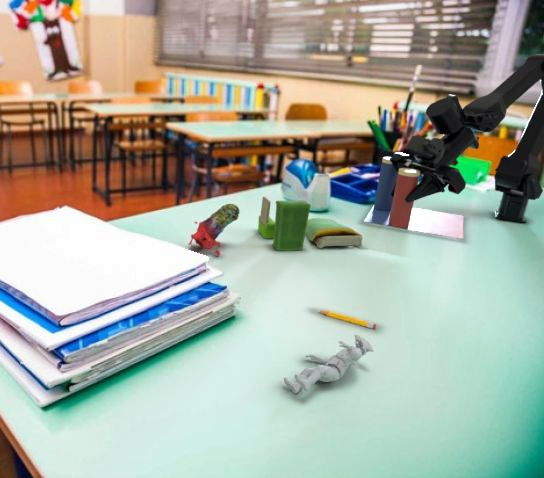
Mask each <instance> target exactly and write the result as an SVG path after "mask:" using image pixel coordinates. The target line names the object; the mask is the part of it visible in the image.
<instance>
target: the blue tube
mask: <svg viewBox="0 0 544 478" xmlns="http://www.w3.org/2000/svg"><path fill="white" fill-rule="evenodd" d="M390 157H391V156H383V157H382V160H381V166H380V171H379V176H378V182H377V186H376V187H377V188H376V191H375V192H376V193H375V197H374V204H373V206H374V209H376V210H380V211H391V207H392V202H393V197H392V196H391V192H392V190H393V187H394V185H395V183H396V181H397V177H398V172H397V170H396V169H395V167H394V166H393V164H392V163H391V161H390V160H389V159H390Z"/></svg>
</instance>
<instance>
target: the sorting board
mask: <svg viewBox="0 0 544 478" xmlns="http://www.w3.org/2000/svg"><path fill="white" fill-rule="evenodd" d="M390 212H391V211H380V210H376V209H374V205H372V207H371V209H370V210H369V212H368V214H367V215H366V217H365V218H364V220H362V221H363V222H364V223H369V224H374V225H380V226H385V227H392V228H394V227H393V226H390V225H389V224H388V223H389V217H390ZM464 218H465V217H464V215H461V214H456V213H449V212H444V211H443V212H442V211H438V210H437V211H436V210H430V209H423V208H417V207H413V208H412V213H411V218H410V222H409V227H408V228H401V229H404V230H409V231H413V232H419V233H425V234H430V235H431V234H432V235H438V236H442V237H447V238H453V239H459V240H464V237H465V235H464V233H465V232H464V227H465V226H464V223H465V222H464ZM395 228H397V227H395ZM397 229H398V228H397Z"/></svg>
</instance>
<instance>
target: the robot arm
mask: <svg viewBox="0 0 544 478" xmlns="http://www.w3.org/2000/svg"><path fill="white" fill-rule="evenodd" d="M539 81H540V88H541V93H540V96H539V98H538V100H537V102H536V105H535V107H534V109H533V111H532V113H531V116H530V117H529V120H528V122H527V123H526V126H525V129H524V131H523V133H522V135H521V137H520V139H519V142H518V143H517V146H516V148H515V149H514V151H513V152H512V153H510V154H509V155H502V156H501V158H500V160H499V163H498V165H497V167H496V168H495V170H494V172H495V174H494V191H496V192H499V193H502V195H501V199H500V203H499V207H498V209H497V210H494V217H495V219H497V220H503V221H510V222H515V223H522V224H526V223H527V219H526V216H525V213H526V211H527V208H528V205H529V201H530V200H531V201H536V200H539V199H540V197H541V196H542V195H543V192H544V189H543V187H542V185H541V183H540V181H539V179H538V177H539V176H540V175H539V174H540V172H541V166H540V160H539V156H540V154H541V152H542V150H543V148H544V53H535V54H532V55H530V56H528V57H527V58H526V60H525V62H524V63H523V64H522V65H521V66H520V67H519V68H517V69H516V70H515V71H514V72H513V73H512V74H511V75H510V76H508V77H507V78H505V80H503V82H502V83H501V84H500V85H498V86H497V87H496V88H495V89H493V91H491V92H489V93H488V94H486V95H484V96H480V97H478V98H476V99H474V100H472V101H471V102H469V103H468V104H466V105H465V106H464V107H462V105H461V103H460V100H459V98H458V95H456V94H448V95H447V96H446V97H443V98H440V99H438V100H436V101H434V102H432V103H431V104H429V105H428V107H427V108H426V110H425V114H426V116H427V118H428V120H429V122H430V124H431V125H432V127H433V128H434V130H435V132H436V134H438V135H443V136H442V137H440V138H437V137H433V138H432V139H430V138H429V139H428V138H426V137H422V136H418V135H417V136H416V135H411V137H410V139H409V140H408V142H407V143H406V145H405V147H404V149H405V150H407V151H410V152H412V153H413V154H414V155H413V157H414V159H415V160H416V161H417V162H414V159H412V157H411V156H410V154H406V153H403V152H394V153H393V154H392V155H391V156H389V157H390V159H389V160H390V161H391V163H392V164H393V166H394V167H395V169H396V170H397V172H399V169H400V168H411V169H416V170H419V171H420V175H422V178H421V181H419V182H418V185H417V186H416V187H415V188H414V189H413V190H412V191H411V192H410V194H409V195H408V196H407V197H406V199H405V201H406V202H407V203H409V202H412V201H414V202H416V201H418V200H421V199H424V198H427V197H428V196H432V195H435V194H439V193H445V192H446V189H445V188H446V187H447V190H448V192H449V193H453V194H456V195H460V194H461V193H462V192H463V190H465V189H466V185H467V181H466V180H465V178H464V176H463V174H462V173H461V171H460V170H459V168H457V166H458V164H459V161H458V158H460V157H461V155H463V154H464V153H465V151H467V150H468V149H469V148H470V149H473V150H474V149H475V150H478V149H479V147H480V141H479V139H480V137H479V136H477V135H476V134H475V133H474V131H475V132H481V133H489V134H490V133H491V132H493V131H494V130H496V128H497V127H498V126H499V125H500V124H501V123H502V121H503V120H504V119H505V118H506V115H507V110H508V109H509V108H510V106H512V105H513V104H514V103H515V102H516V101H517V100H519V99H520V98H521V97H522V96H523V95H524V94H526V92H528V91H529V90H530V89H531V88H532V87H533V86H534V85H535V84H537V83H538V82H539ZM396 182H397V181H396ZM395 187H396V183H395V185H394V187H393V190H392V192H391V196H392V197H394V192H395Z"/></svg>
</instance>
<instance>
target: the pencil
mask: <svg viewBox="0 0 544 478" xmlns="http://www.w3.org/2000/svg"><path fill="white" fill-rule="evenodd" d="M317 312H319V313H321V314H323V315H325V316H327V317H330V318H333V319H336V320H340V321H344V322H348V323H351V324H354V325H358V326H362V327H365V328H368V329H372V330H376V327H377V324H376V323H374V322H369V321H367V320H362V319H359V318H356V317H351V316H348V315H346V314H345V315H344V314H341V313H338V312H334V311H331V310H320V309H319V310H317Z"/></svg>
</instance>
